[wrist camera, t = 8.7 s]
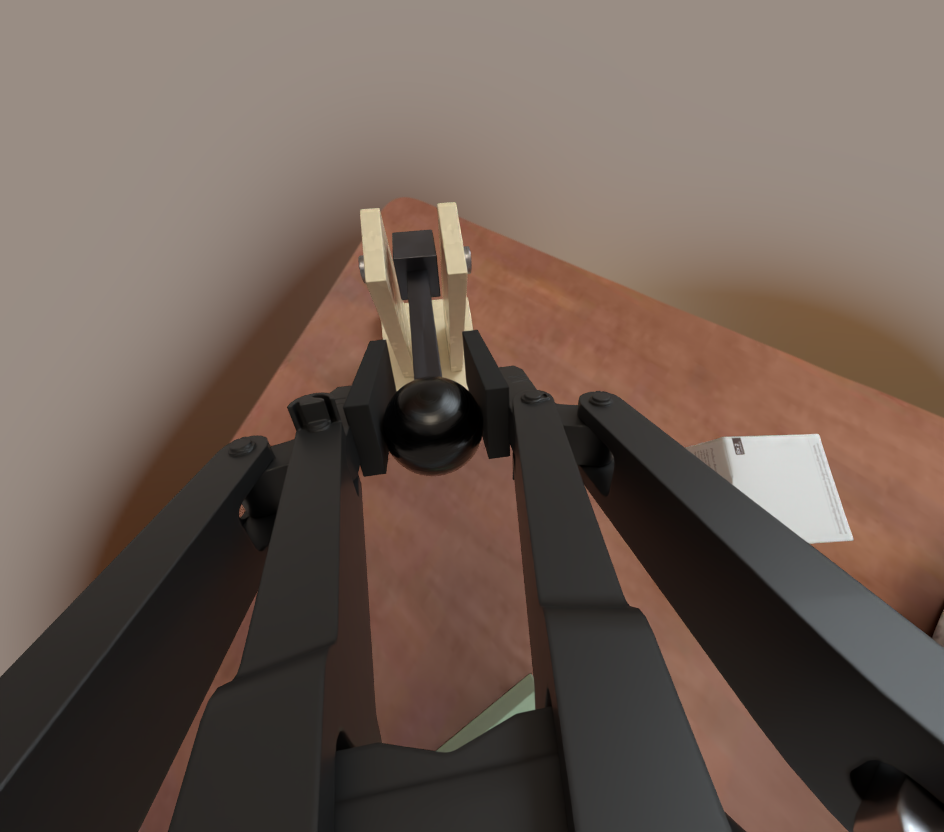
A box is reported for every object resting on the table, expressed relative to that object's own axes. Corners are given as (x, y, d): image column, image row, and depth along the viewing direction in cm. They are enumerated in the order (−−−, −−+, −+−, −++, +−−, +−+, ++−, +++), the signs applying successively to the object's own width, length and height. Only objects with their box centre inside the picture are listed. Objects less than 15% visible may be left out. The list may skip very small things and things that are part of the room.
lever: (489, 484, 13) (494, 433, 10) (394, 498, 12) (369, 450, 9) (448, 277, 21) (443, 216, 18) (390, 283, 21) (376, 221, 18)
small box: (786, 536, 28) (858, 544, 23) (695, 542, 27) (749, 550, 22) (761, 444, 30) (822, 431, 25) (676, 447, 29) (721, 435, 24)
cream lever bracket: (483, 403, 29) (507, 319, 16) (391, 415, 29) (336, 338, 15) (467, 304, 32) (476, 159, 18) (382, 312, 31) (327, 168, 18)
